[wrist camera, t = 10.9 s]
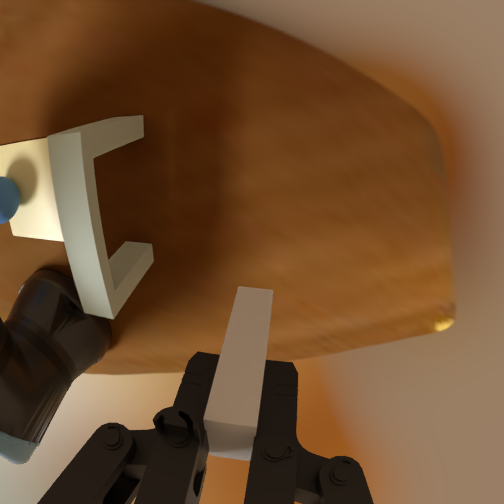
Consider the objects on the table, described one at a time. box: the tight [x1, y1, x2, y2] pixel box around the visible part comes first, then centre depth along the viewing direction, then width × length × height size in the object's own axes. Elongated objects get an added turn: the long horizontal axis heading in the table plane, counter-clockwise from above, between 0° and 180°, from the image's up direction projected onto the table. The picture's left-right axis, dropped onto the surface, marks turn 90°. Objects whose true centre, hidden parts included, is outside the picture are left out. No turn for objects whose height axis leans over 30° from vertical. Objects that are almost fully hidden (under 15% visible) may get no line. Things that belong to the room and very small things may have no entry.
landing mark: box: [0, 138, 64, 241], centre depth 28 cm, size 12×12×1 cm
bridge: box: [47, 115, 154, 319], centre depth 23 cm, size 3×14×9 cm, turn 177°
